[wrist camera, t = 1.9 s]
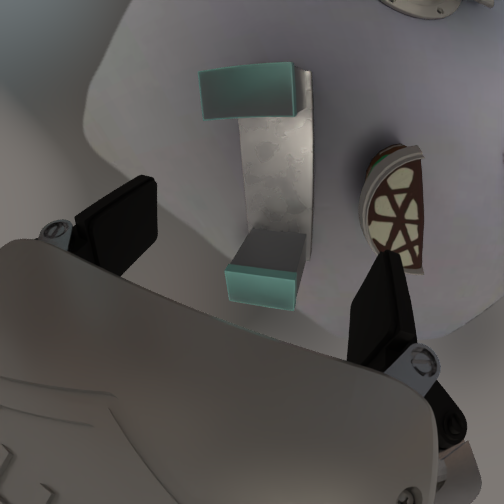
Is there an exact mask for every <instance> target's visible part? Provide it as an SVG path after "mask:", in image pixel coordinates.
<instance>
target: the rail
mask: <svg viewBox="0 0 504 504" xmlns="http://www.w3.org/2000/svg"><path fill="white" fill-rule="evenodd" d="M305 75H306V96H307V108H305V109H304V110H302V111H300V112H298V113H297V116H295V117H251V118H238V122H239V133H240V144H241V156H242V167H243V178H244V189H245V200H246V211H247V222H248V233H249V232H250V231H251V229H261V230H272V231H282V232H293V233H303V234H307V243H306V261H310V257H311V251H312V231H313V205H314V105H313V80H312V72H311V71H305Z"/></svg>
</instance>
